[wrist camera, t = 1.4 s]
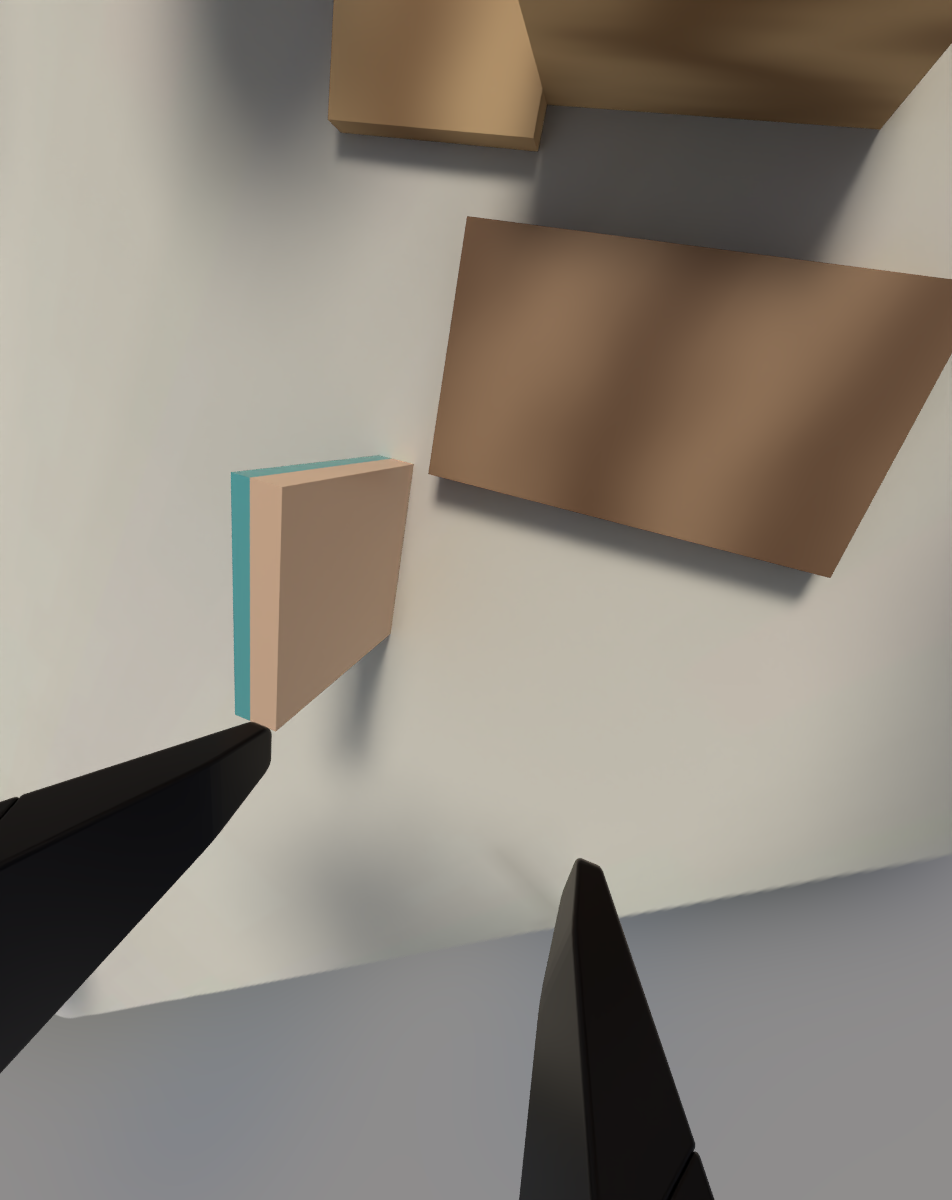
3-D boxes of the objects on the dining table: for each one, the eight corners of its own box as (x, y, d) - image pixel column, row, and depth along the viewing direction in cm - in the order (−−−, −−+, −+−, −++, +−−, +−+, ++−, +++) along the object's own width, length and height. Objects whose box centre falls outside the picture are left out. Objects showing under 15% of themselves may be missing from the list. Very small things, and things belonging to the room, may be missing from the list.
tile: (413, 464, 19) (282, 487, 12) (390, 633, 22) (276, 731, 15) (379, 455, 19) (230, 472, 12) (360, 623, 23) (235, 714, 16)
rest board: (959, 296, 13) (988, 284, 12) (817, 567, 16) (830, 577, 15) (478, 230, 16) (467, 216, 15) (440, 471, 19) (428, 473, 18)
